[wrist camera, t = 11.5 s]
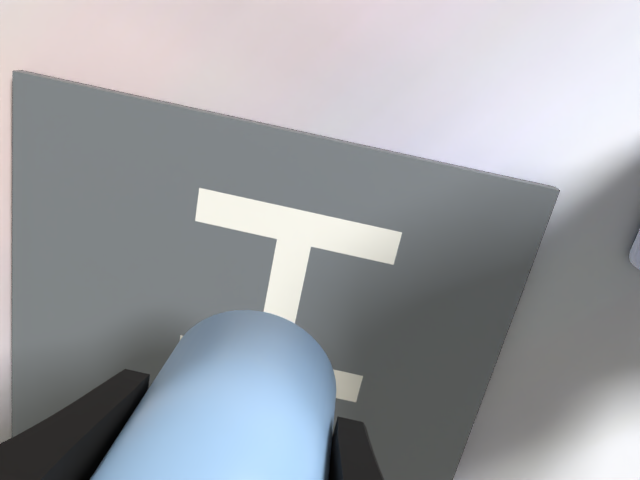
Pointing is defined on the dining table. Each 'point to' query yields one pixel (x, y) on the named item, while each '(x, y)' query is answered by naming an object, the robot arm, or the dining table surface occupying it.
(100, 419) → the robot arm
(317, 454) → the blue capsule
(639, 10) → the dining table surface
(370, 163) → the letter board
